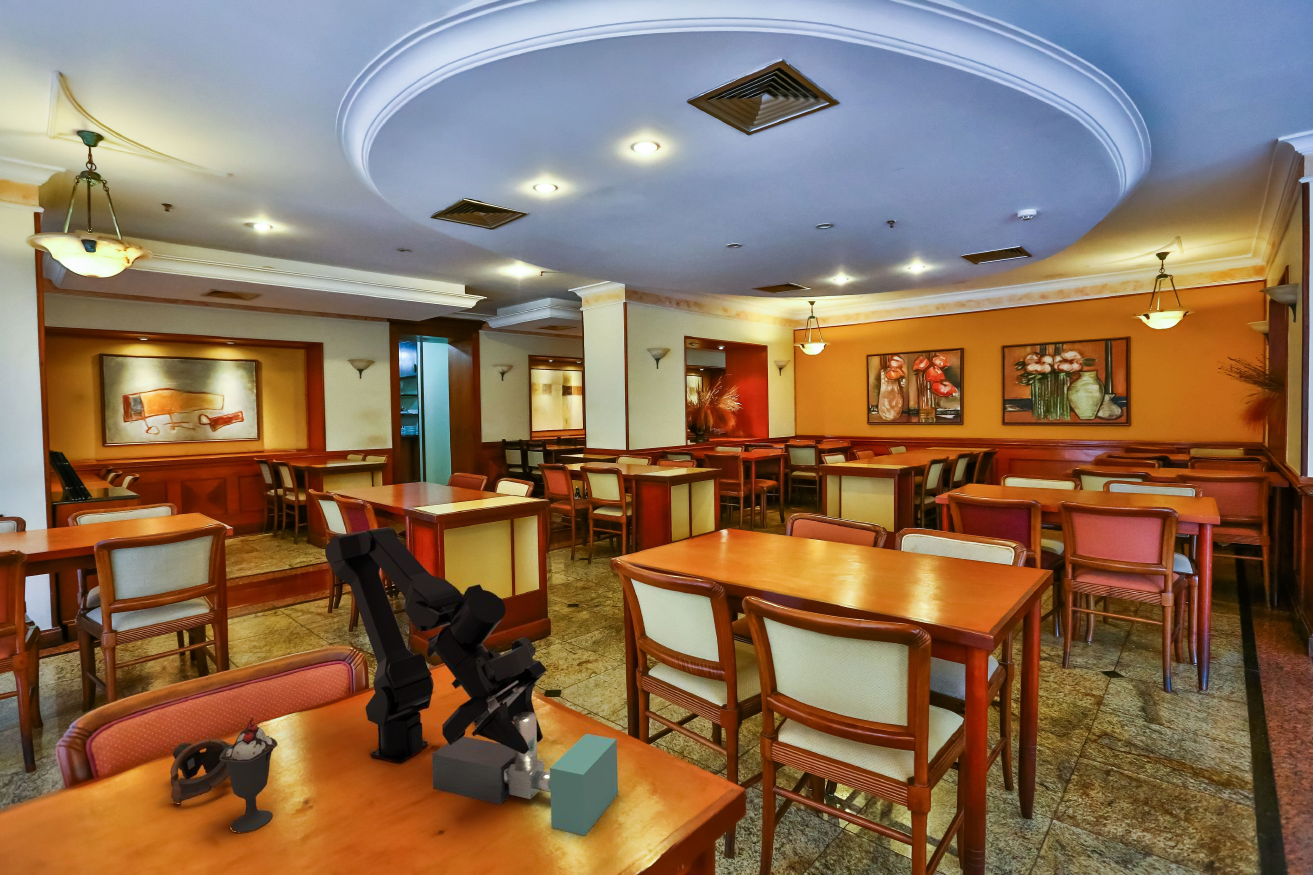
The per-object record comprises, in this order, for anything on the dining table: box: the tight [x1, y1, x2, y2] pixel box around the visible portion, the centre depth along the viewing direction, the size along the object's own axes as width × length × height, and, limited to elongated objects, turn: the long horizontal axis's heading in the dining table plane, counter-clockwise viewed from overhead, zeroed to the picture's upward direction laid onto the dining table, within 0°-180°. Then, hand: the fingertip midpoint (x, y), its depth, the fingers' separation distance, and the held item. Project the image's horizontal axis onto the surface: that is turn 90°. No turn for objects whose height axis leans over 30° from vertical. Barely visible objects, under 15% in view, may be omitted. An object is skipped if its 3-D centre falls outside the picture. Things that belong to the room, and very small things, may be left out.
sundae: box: [219, 716, 278, 834], centre depth 88 cm, size 7×7×15 cm
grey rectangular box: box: [431, 735, 515, 806], centre depth 95 cm, size 12×6×5 cm, turn 68°
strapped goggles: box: [170, 738, 233, 804], centre depth 97 cm, size 12×10×8 cm
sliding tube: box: [504, 712, 550, 800], centre depth 94 cm, size 19×4×11 cm, turn 68°
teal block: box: [549, 733, 619, 837], centre depth 89 cm, size 5×10×8 cm, turn 158°
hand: (533, 745), depth 92 cm, fingers closed on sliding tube, 3 cm apart
